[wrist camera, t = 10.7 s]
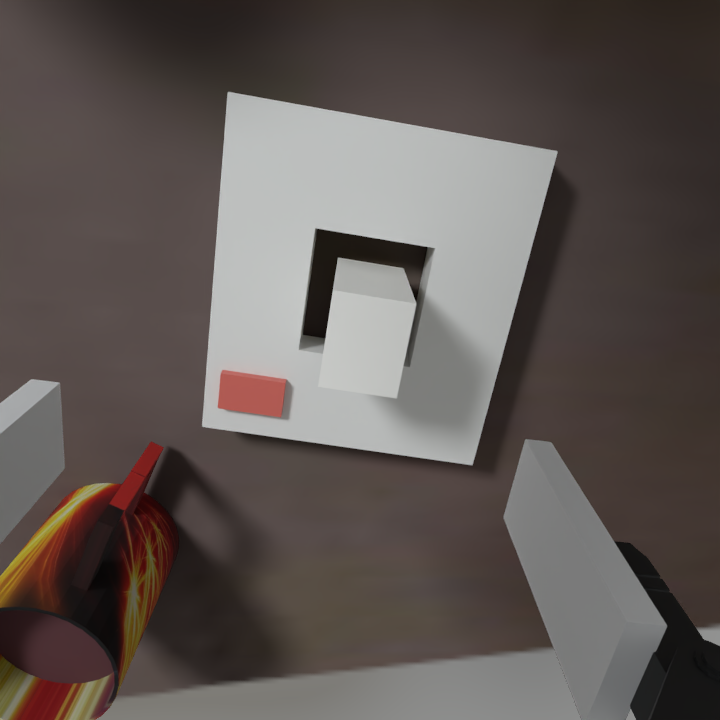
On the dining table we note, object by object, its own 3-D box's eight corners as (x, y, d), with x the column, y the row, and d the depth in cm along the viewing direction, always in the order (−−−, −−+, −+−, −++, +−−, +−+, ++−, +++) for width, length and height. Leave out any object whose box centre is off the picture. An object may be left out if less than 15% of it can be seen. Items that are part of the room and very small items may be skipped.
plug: (338, 251, 36) (332, 289, 27) (400, 261, 37) (416, 303, 27) (327, 326, 38) (317, 386, 29) (386, 335, 38) (396, 398, 29)
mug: (168, 433, 41) (97, 544, 30) (184, 587, 46) (128, 732, 35) (31, 430, 41) (-92, 541, 30) (62, 585, 46) (-34, 730, 34)
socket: (238, 95, 33) (225, 90, 30) (541, 150, 34) (561, 151, 31) (212, 406, 40) (199, 431, 37) (464, 443, 41) (474, 470, 38)
